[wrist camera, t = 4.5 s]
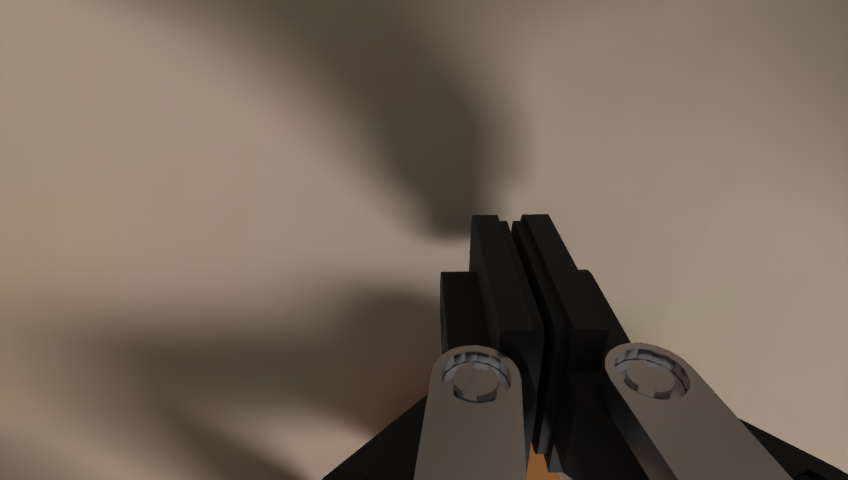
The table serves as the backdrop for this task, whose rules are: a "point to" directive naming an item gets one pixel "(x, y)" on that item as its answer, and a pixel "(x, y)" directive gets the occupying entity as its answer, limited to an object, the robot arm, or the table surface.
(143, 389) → the table surface
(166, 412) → the table surface
